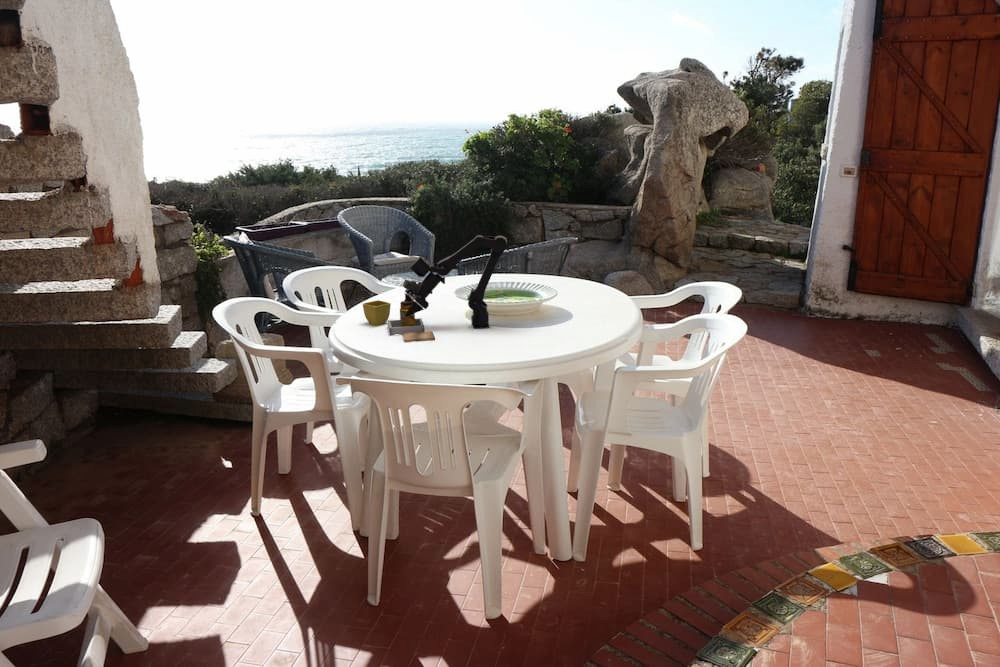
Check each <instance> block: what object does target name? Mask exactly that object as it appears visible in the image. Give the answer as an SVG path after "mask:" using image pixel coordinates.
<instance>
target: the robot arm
mask: <svg viewBox="0 0 1000 667" xmlns="http://www.w3.org/2000/svg"><path fill="white" fill-rule="evenodd" d="M480 247H484V248H489V249H491V250H490V254H489V258H488V259H487V262H486V264H485V267H484V269H483V271H482V274H481V276H480V279H479V281H478V283H477V286H475V288H471V290H470V293H469V295H468V296H467V303H468V304H467V305H468V307H469V309H471V310H472V315H471V321H470V322H471V324H470V325H471V326H472V327H473V329H485V328H486V327H488V328H490V327H491V326H490V318H489V310H488V304H487V303H486V302H485V301H484V297H485V292H486V289H487V287H488V285H489V282H490V280H491V278H492V276H493V274H494V271H495V269H496V266H497V264H498V261H499V259H500V258H501V257H502V255H503V254H504V253H505V251H506V250H507V247H508V240H507V238H506V236H504V235H496V236H489V235H481V234H478V235H476V236H475V237H474V238H473V239H472V240H471V241H469V242H468V243H466V244H465V245H464V246H462V247H461V248H460V249H459V250H457V251H456V252H455V253H453V254H451V255H449V256H447V257H445V258H443V259H441V260H439V261H438V262H436V263H432V264H430V263H428V262H427V261H426V260H425V259H424V258H423V257H422V256H420V257H419V258H418V259H417V260H415V261H414V262H413V263H412V265H410V267H409V270H410V271H412V272H413V273H414V274H415V275H416V276H418V278H423V280H422V281H418V282H416V281H415V280H409V279H404V280H403V283H402V287H403V288H404V289H405V290H404V300H403V301H412V305H411V306H410V308H409V309H408V311H407V312H406V314H405V316H406V317H408V316H410V315H412V314H414V313H415V314H416V313H418V312H421V311H424V310H427V308H428V307H430V306H429V304H430V302H428V300H427V299H426V298H427V297H429V295H432V294H433V290H435V288H436V287H438V285H439V284H440V283H441V284H443V285H445V284H446V276H448V275H449V274H450V272H451V271H453V269H454V268H455V267H456V266H457V265H458V264H459V263H460V262H461V261H463V260H464V259H465V258H466V257H468V256H469V255H470V254H472V253H473V252H474V251H476V250H477V249H479V248H480ZM486 329H487V328H486Z"/></svg>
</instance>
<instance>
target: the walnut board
mask: <svg viewBox="0 0 1000 667" xmlns="http://www.w3.org/2000/svg"><path fill="white" fill-rule="evenodd" d="M402 338H404V339H403V342H404V343H412V342H411V341H416V342H426V341H425V340H430V341H436V337H435V334H434V332H433V330H429V331H428V330H427V331H425V332H412V333H403V335H402Z"/></svg>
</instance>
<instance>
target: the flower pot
mask: <svg viewBox="0 0 1000 667" xmlns="http://www.w3.org/2000/svg"><path fill="white" fill-rule="evenodd" d="M391 304H392V303H391V302H387V301H384V300H379V299H378V300H373V301H368V302H364V303H362V308H363V314H364V317H365V318H366V321H367V322H368V323H369V324H370V323H371V324H372V325H373V326H380V325H383V323H384V324H386V323H388V319H389V318H390V313H391ZM371 324H370V325H371ZM379 324H380V325H379Z"/></svg>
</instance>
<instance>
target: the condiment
mask: <svg viewBox="0 0 1000 667" xmlns="http://www.w3.org/2000/svg"><path fill="white" fill-rule="evenodd" d="M411 305H412V301H404V300H402V301H400V308H399V320H400V324H401V327H407V326H415V319H416V318H415V317H416V313H414V314H412V315H410V316H408V317H406V316H405V314H406V312H407V311H408V309H409V308H410V306H411Z"/></svg>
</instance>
